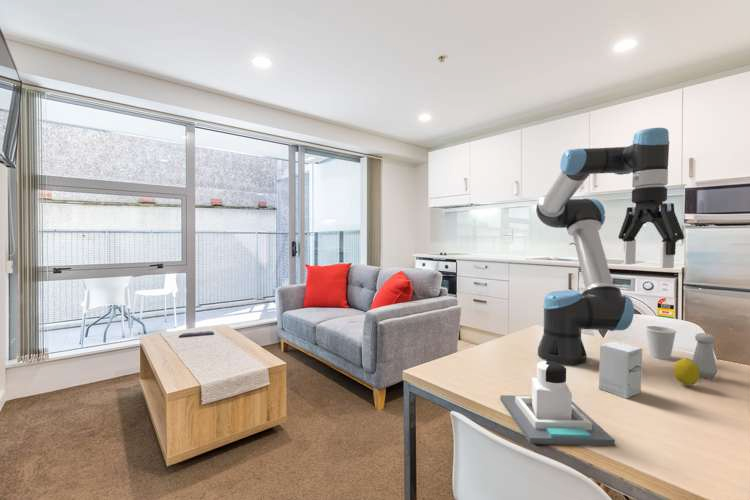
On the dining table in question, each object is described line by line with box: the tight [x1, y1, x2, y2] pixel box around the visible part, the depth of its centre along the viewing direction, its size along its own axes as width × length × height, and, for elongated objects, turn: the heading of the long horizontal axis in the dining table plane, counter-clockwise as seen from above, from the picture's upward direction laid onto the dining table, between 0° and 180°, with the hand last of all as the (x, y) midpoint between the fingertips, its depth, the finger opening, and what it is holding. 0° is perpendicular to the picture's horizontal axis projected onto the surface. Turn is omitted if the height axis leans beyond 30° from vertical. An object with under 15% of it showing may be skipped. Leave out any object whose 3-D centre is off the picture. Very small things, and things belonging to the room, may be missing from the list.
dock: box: [499, 394, 616, 446], centre depth 80 cm, size 19×17×3 cm
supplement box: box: [598, 341, 643, 400], centre depth 94 cm, size 7×7×13 cm
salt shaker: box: [691, 332, 718, 380], centre depth 104 cm, size 6×6×13 cm
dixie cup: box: [645, 325, 677, 361], centre depth 121 cm, size 8×8×10 cm
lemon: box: [673, 357, 700, 387], centre depth 98 cm, size 6×6×8 cm
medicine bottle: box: [531, 360, 573, 420], centre depth 80 cm, size 7×7×12 cm
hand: (646, 265), depth 94 cm, fingers open, 13 cm apart
